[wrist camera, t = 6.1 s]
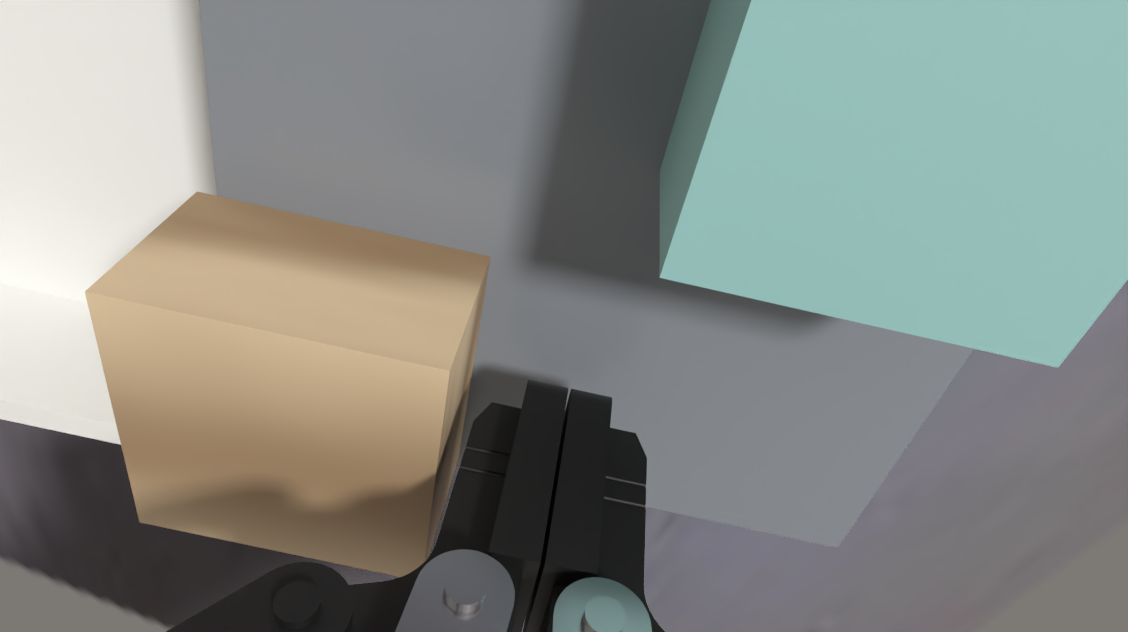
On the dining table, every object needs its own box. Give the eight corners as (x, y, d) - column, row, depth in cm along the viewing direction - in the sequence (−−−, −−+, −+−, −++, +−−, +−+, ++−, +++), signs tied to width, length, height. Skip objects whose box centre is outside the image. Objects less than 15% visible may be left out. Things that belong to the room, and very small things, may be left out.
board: (289, -385, 11) (157, -444, 8) (1151, -171, 11) (1318, -153, 8) (302, 320, 18) (237, 418, 16) (811, 432, 19) (837, 547, 16)
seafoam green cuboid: (779, -229, 8) (827, -231, 6) (1200, -123, 9) (1414, -85, 6) (659, 170, 11) (659, 277, 9) (974, 244, 11) (1058, 367, 9)
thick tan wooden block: (197, 191, 12) (84, 291, 10) (490, 256, 13) (450, 371, 10) (221, 405, 15) (139, 522, 13) (458, 456, 16) (421, 580, 13)
